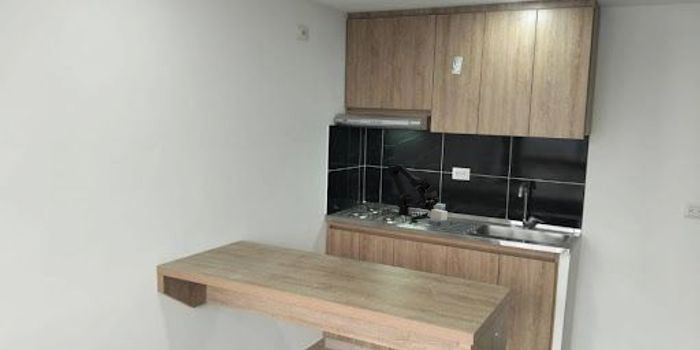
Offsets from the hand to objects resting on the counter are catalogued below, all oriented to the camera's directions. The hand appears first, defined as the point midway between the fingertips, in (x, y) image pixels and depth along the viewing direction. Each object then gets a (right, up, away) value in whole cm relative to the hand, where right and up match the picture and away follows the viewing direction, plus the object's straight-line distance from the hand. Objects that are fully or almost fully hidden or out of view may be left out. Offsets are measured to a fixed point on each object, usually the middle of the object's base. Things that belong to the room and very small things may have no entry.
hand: (433, 212), depth 367 cm
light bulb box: (+5, -6, +21) cm, 23 cm away
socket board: (-1, -8, +1) cm, 8 cm away
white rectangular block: (+3, -7, -3) cm, 8 cm away
